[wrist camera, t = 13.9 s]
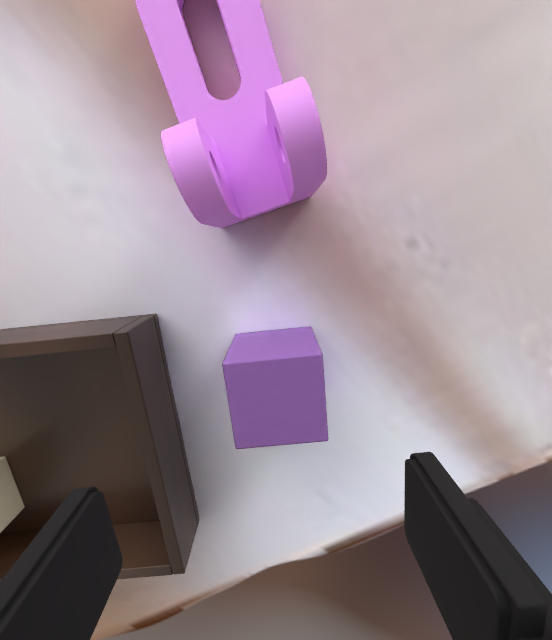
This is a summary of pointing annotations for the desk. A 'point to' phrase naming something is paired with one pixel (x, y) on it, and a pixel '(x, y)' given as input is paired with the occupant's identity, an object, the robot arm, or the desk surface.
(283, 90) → the bracket
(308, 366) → the lavender block
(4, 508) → the cream block
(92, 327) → the wooden box
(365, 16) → the desk surface
